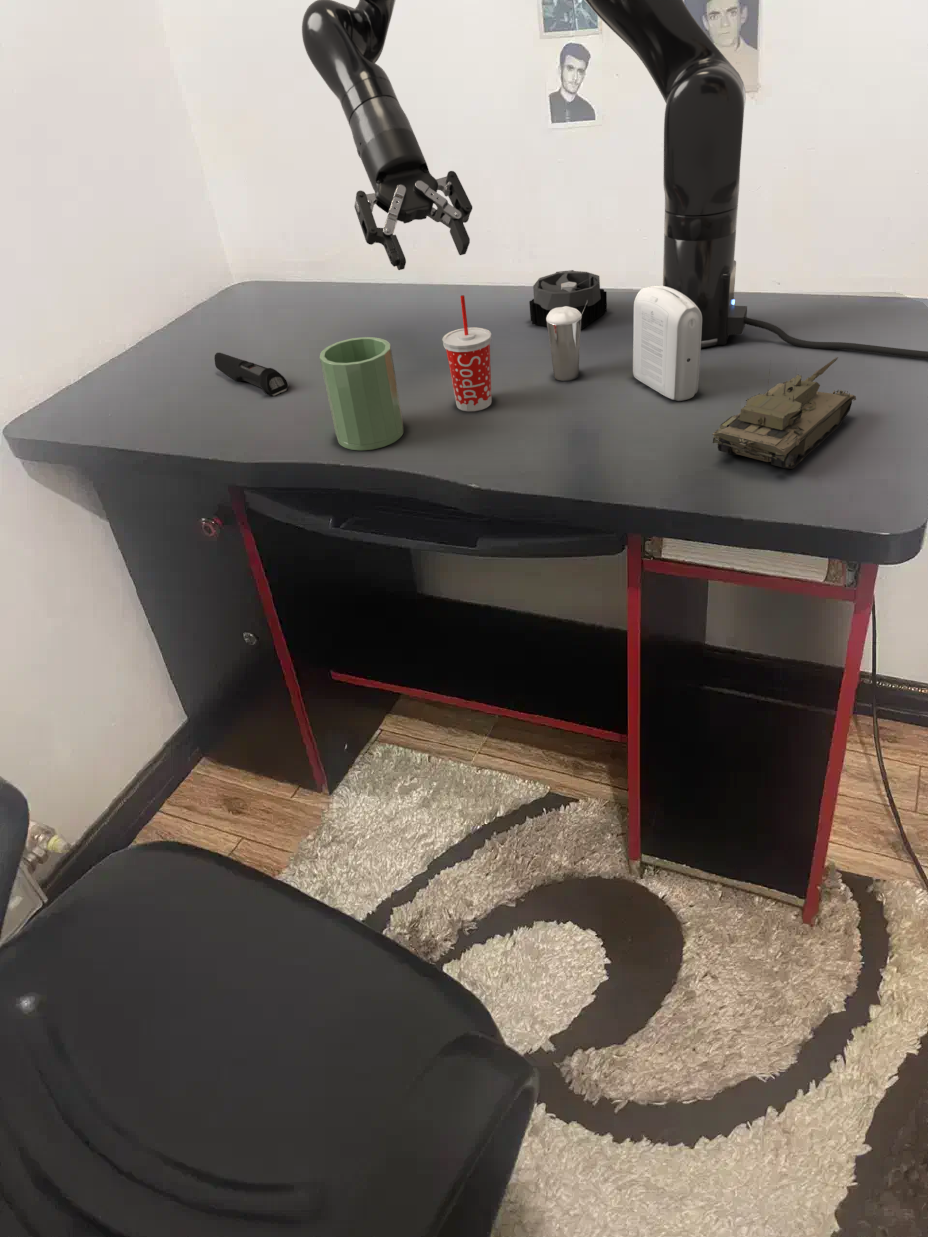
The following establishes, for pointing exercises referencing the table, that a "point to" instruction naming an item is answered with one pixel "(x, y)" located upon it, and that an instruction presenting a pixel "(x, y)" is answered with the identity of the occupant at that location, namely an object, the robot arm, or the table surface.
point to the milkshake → (564, 341)
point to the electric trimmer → (251, 373)
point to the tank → (784, 422)
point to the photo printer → (667, 342)
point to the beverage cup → (469, 365)
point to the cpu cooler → (568, 296)
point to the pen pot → (362, 393)
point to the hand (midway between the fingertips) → (433, 258)
